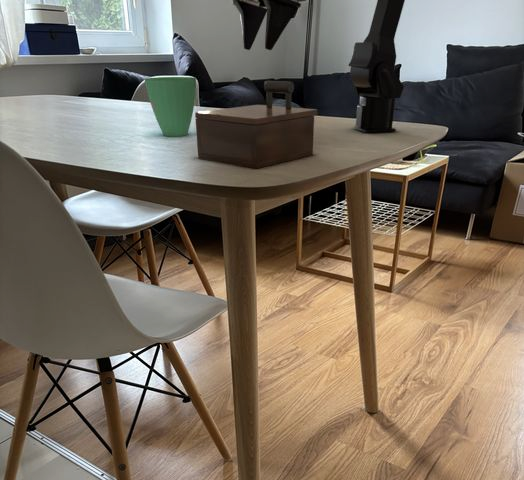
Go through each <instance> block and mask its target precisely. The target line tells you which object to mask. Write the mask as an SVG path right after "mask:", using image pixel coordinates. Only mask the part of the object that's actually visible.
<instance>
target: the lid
mask: <svg viewBox="0 0 524 480" xmlns="http://www.w3.org/2000/svg"><path fill="white" fill-rule="evenodd" d="M263 90H264V91H265V92H266V96H265V97H266V104H252V105H243V106H236V107H229V108H220V109H211V110H205V111H196V112H195V113H194V118H195V119H196V118H199V119H207V120H216V121H225V122H234V123H243V124H251V125H259V124H265V123H271V122H278V121H284V120H290V119H296V118H302V117H308V116H314V117H315V116H318V113H319V112H318V111H319V110H318V109H316V108H303V107H292V97H293V93H294V91H295V84H294V82H293V81H284V80H283V81H282V80H281V81H279V80H266V81H264V84H263ZM273 93H276V94H285V106H282V105H281V106H279V105H273Z"/></svg>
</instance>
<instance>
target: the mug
mask: <svg viewBox="0 0 524 480" xmlns="http://www.w3.org/2000/svg"><path fill="white" fill-rule="evenodd" d="M144 85H145V88H146V92H147V96H148V99H149V102H150V103H149V104H150V105H151V109H152V111H153V115H154V117H155V119H156V121H157V124H158V126H159V129H160V131H161V132H162V135H163V136H166V137H184V136H188V134H189V131H190V127H191V123H192V119H193V113H194V109H195V108H194V107H195V101H196V92H197V91H196V90H197V78H196V77H194V76H160V77H159V76H157V77H146V78H144Z"/></svg>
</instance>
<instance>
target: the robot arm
mask: <svg viewBox="0 0 524 480" xmlns="http://www.w3.org/2000/svg"><path fill="white" fill-rule="evenodd" d="M306 1H307V0H231V3H232V5H233V6H235V8H236V9H237V11H238V13H239V15H240V22H241V31H242V32H241V33H242V42H243V43H242V44H243V49H244V50H247V51H250V50H251V49H252V46H253V44H254V42H255V40H256V38H257V36H258V33H259V31H260V28H261V26H262V24H263V22H264V19H265V17H266V20H265V21H266V22H265V35H264V36H265V37H264V49H265V50H268V51H272V50H273V49H274V47H275V45H276V44H277V42H278V40H279V39H280V37H281V35H282V34H283V32H284V31H285V29H286V28H287V26H288V24H289V23H290V22H291V20H292V19H293V17H294V15H295V14H296V13H297V11H298V9H300V8H301V7H302V2H306ZM405 1H406V0H376V5H375V8H374V12H373V16H372V20H371V24H370V26H369V27H370V28H369V31H368V34H367V36H366V37H365V38H364V40H363V41H361V42H355V43H354V46H353V47H352V48H353V49H352V56H351V59H350V62H349V63H348V67H350V70H349V78H350V79H351V82H352V84H353V85H354V90H355V93H356V94H355V95H356V96H357V97H359V104H357V106H356V115H355V116H356V119H355V125H354V126H353V128H354V130H357V131H361V132H363V133H383V132H396V130H397V128H395V127H393V124H394V123H393V122H394V113H395V105H396V99H400V98H401V96H402V93H403V91H404V88H405V86H404V84H403V82H402V81H401V80H400V78H399V76H398V75H397V74H396V72H395V70H396V69H395V67H396V61H397V52H396V51H397V50H396V44H395V38H396V33H397V31H398V27H399V23H400V19H401V15H402V12H403V9H404V5H405Z"/></svg>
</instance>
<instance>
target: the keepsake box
mask: <svg viewBox="0 0 524 480" xmlns="http://www.w3.org/2000/svg"><path fill="white" fill-rule="evenodd" d="M314 130H315V115H314V116H308V117H302V118H296V119H290V120H284V121H278V122H271V123H265V124H259V125H251V124H243V123H234V122H225V121H216V120H207V119H199V118H195V131H196V132H195V133H196V146H197V158H198V159H200V160H206V161H212V162H218V163H222V164H229V165H234V166H240V167H246V168H251V169H256V170H257V169H261V168H264V167H270V166H273V165H279V164H281V163H285V162H289V161H294V160H298V159H302V158H307V157H310V156H313V155H314V135H315V134H314V133H315V131H314Z"/></svg>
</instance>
